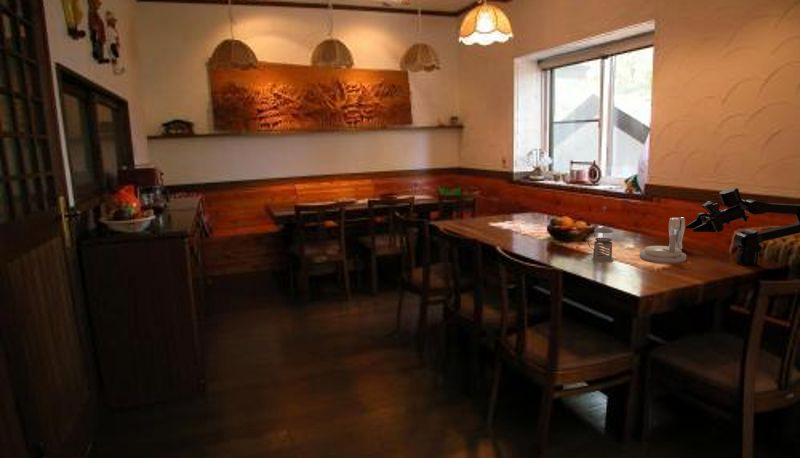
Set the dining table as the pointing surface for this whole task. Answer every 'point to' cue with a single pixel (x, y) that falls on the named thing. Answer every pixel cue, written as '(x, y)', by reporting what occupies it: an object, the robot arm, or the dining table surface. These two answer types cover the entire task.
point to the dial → (664, 249)
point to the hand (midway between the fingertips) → (689, 229)
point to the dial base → (663, 258)
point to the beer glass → (677, 229)
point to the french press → (605, 243)
